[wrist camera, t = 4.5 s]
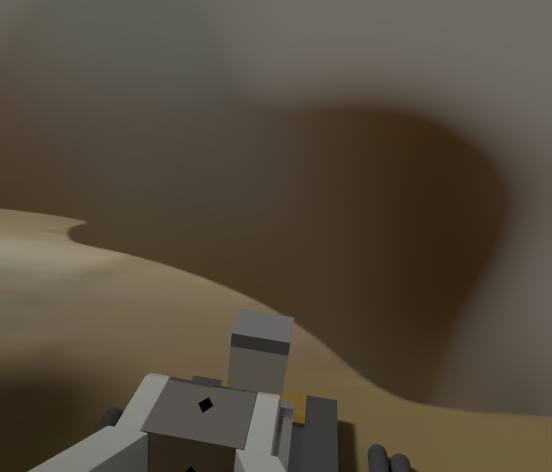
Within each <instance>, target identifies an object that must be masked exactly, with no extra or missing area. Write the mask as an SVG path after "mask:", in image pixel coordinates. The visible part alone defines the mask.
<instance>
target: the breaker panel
mask: <svg viewBox="0 0 552 472" xmlns="http://www.w3.org/2000/svg"><path fill="white" fill-rule="evenodd" d="M192 381H197V382H202V383H207V384H212V385H218V386H224V387H227V381H228V380H223V381H222V380H216V379H210V378H205V377H199V376H193V379H192ZM273 456H276V457H279V458H280V460H281V462H282V464H283V466H284V468H285V469H286V471H287V472H338V432H337V400H331V399H325V398H319V397H314V396H308V395H307V394H303V393H297V392H291V391H286V390H283V393H282V400H281V407H280V413H279V420H278V426H277V433H276V440H275V446H274V453H273Z"/></svg>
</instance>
